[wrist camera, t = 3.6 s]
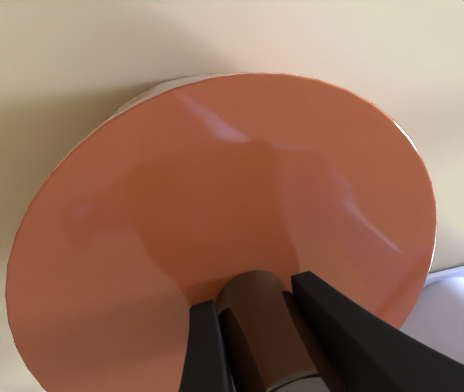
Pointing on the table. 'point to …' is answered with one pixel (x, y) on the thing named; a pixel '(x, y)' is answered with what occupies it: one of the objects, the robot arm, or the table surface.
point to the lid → (218, 235)
